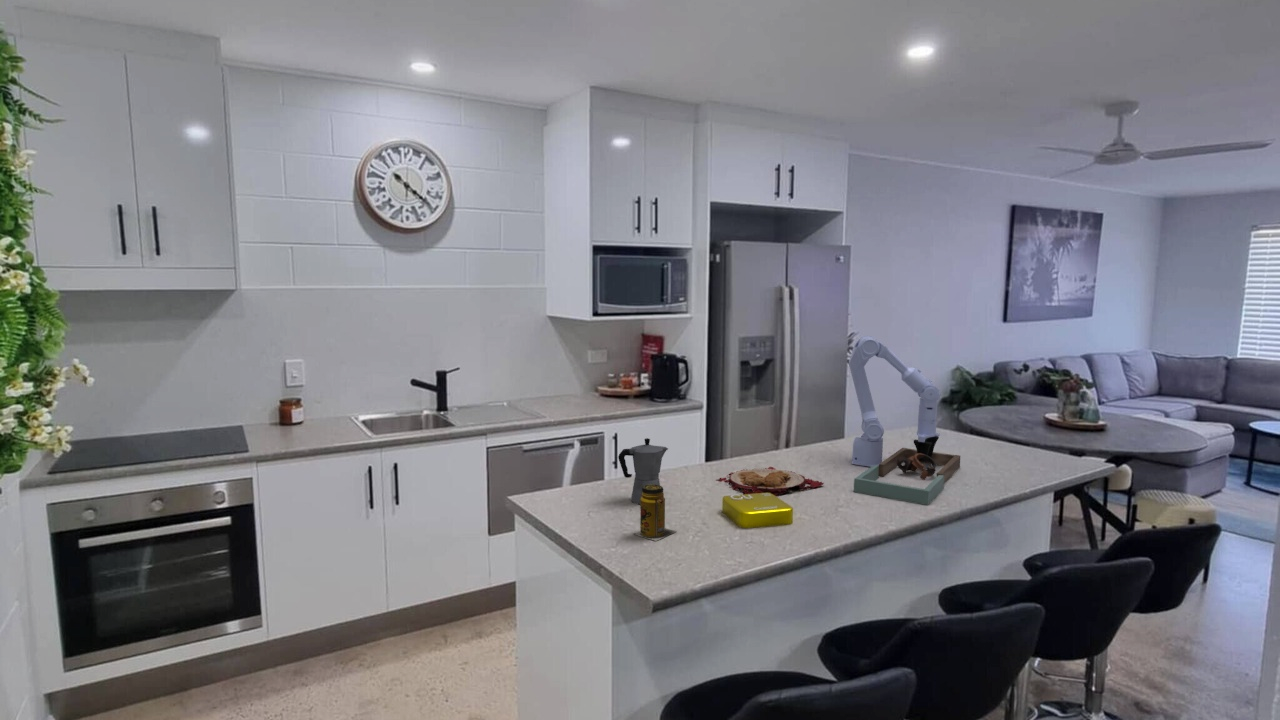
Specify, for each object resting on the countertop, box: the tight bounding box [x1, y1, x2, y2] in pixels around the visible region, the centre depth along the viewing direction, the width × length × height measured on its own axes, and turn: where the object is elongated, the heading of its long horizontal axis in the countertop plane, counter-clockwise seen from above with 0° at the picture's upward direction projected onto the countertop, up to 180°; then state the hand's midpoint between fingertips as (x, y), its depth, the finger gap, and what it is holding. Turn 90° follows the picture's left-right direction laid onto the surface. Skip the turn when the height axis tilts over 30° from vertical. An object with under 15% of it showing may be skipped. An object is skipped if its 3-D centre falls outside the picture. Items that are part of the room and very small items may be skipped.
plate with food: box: [715, 466, 825, 497], centre depth 214 cm, size 25×26×4 cm
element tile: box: [721, 493, 794, 529], centre depth 182 cm, size 15×15×5 cm
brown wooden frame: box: [878, 447, 961, 484], centre depth 227 cm, size 19×28×4 cm
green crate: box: [853, 465, 945, 506], centre depth 207 cm, size 21×20×4 cm
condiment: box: [634, 484, 677, 542], centre depth 169 cm, size 7×8×12 cm
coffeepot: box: [617, 437, 669, 506], centre depth 194 cm, size 15×9×18 cm, turn 116°
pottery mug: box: [896, 453, 937, 480], centre depth 222 cm, size 12×10×8 cm
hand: (925, 459), depth 232 cm, fingers open, 7 cm apart
